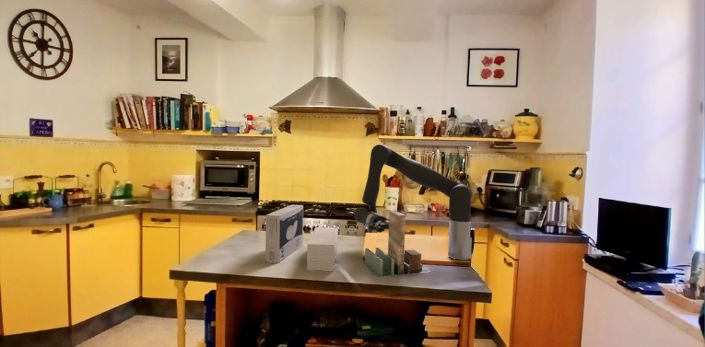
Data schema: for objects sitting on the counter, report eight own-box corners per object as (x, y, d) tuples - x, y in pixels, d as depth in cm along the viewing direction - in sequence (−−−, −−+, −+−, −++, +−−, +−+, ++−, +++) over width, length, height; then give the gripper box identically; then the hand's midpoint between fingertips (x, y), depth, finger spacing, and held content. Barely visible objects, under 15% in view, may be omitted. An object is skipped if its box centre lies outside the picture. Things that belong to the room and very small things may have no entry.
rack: (412, 262, 160) (413, 245, 159) (432, 275, 144) (432, 256, 143) (363, 266, 153) (363, 248, 153) (377, 280, 137) (378, 260, 136)
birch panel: (393, 263, 153) (394, 210, 151) (403, 271, 143) (405, 215, 142) (387, 264, 152) (389, 210, 150) (397, 271, 142) (399, 215, 141)
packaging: (278, 263, 155) (279, 215, 154) (265, 261, 156) (265, 215, 155) (302, 245, 185) (303, 205, 183) (291, 244, 186) (291, 204, 185)
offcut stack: (412, 262, 155) (412, 248, 154) (422, 269, 146) (422, 254, 146) (400, 263, 153) (401, 249, 153) (410, 270, 145) (410, 255, 144)
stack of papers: (333, 271, 147) (334, 244, 146) (306, 270, 147) (307, 244, 146) (337, 249, 179) (337, 227, 178) (315, 249, 179) (315, 227, 178)
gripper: (362, 214, 165) (374, 221, 150) (391, 213, 170) (406, 220, 154) (361, 231, 166) (374, 239, 150) (391, 229, 170) (406, 237, 155)
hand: (390, 229), depth 152 cm, fingers open, 8 cm apart
